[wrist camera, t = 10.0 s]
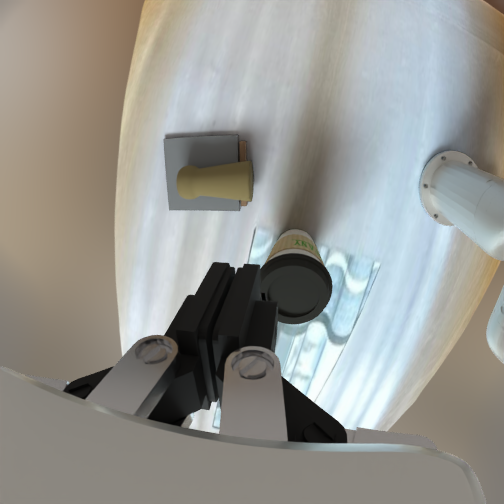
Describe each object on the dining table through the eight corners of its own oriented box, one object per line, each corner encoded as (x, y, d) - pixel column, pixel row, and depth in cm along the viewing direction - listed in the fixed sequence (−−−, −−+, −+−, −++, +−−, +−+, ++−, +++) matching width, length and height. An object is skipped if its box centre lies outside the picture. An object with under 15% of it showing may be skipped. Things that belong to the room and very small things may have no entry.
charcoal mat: (238, 134, 44) (237, 135, 43) (240, 209, 49) (239, 211, 48) (165, 138, 46) (163, 139, 45) (170, 209, 50) (169, 210, 50)
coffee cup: (326, 271, 51) (333, 326, 38) (269, 274, 53) (257, 329, 39) (323, 216, 47) (333, 257, 34) (262, 220, 49) (247, 262, 36)
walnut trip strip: (246, 141, 44) (244, 141, 43) (247, 204, 48) (246, 206, 47) (240, 141, 44) (239, 141, 43) (242, 203, 48) (241, 206, 47)
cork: (254, 184, 48) (188, 185, 49) (251, 152, 43) (179, 155, 44) (250, 210, 44) (178, 210, 46) (246, 177, 39) (168, 179, 41)
